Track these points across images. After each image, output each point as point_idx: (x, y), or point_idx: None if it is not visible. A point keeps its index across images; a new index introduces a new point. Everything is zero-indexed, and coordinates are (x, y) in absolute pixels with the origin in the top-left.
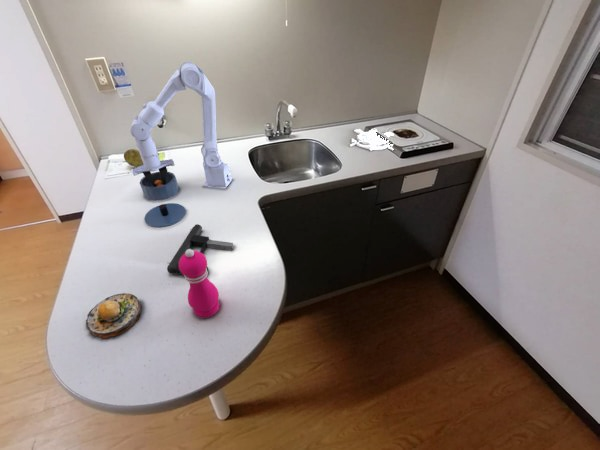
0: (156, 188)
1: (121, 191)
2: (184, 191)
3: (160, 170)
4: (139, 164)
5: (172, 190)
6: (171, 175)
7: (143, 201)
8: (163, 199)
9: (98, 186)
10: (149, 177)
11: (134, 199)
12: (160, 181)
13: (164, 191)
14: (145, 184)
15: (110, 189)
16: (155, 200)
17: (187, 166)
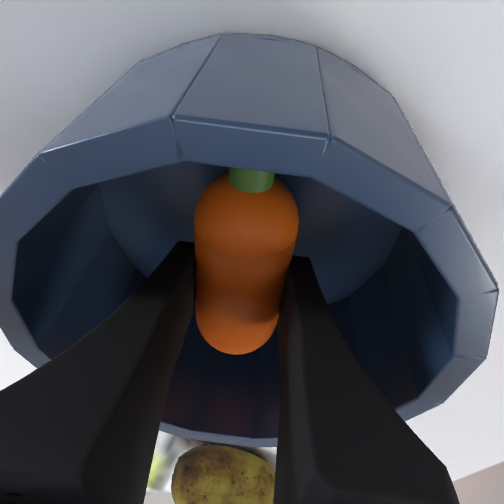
0: (368, 147)
1: (464, 387)
2: (23, 88)
3: (88, 501)
4: (258, 497)
5: (121, 83)
6: (54, 336)
7: (469, 191)
8: (303, 42)
9: (500, 461)
10: (371, 439)
11: (492, 269)
12: (209, 321)
13: (244, 75)
14: None
15: (486, 424)
16: (391, 97)
17: (10, 378)
